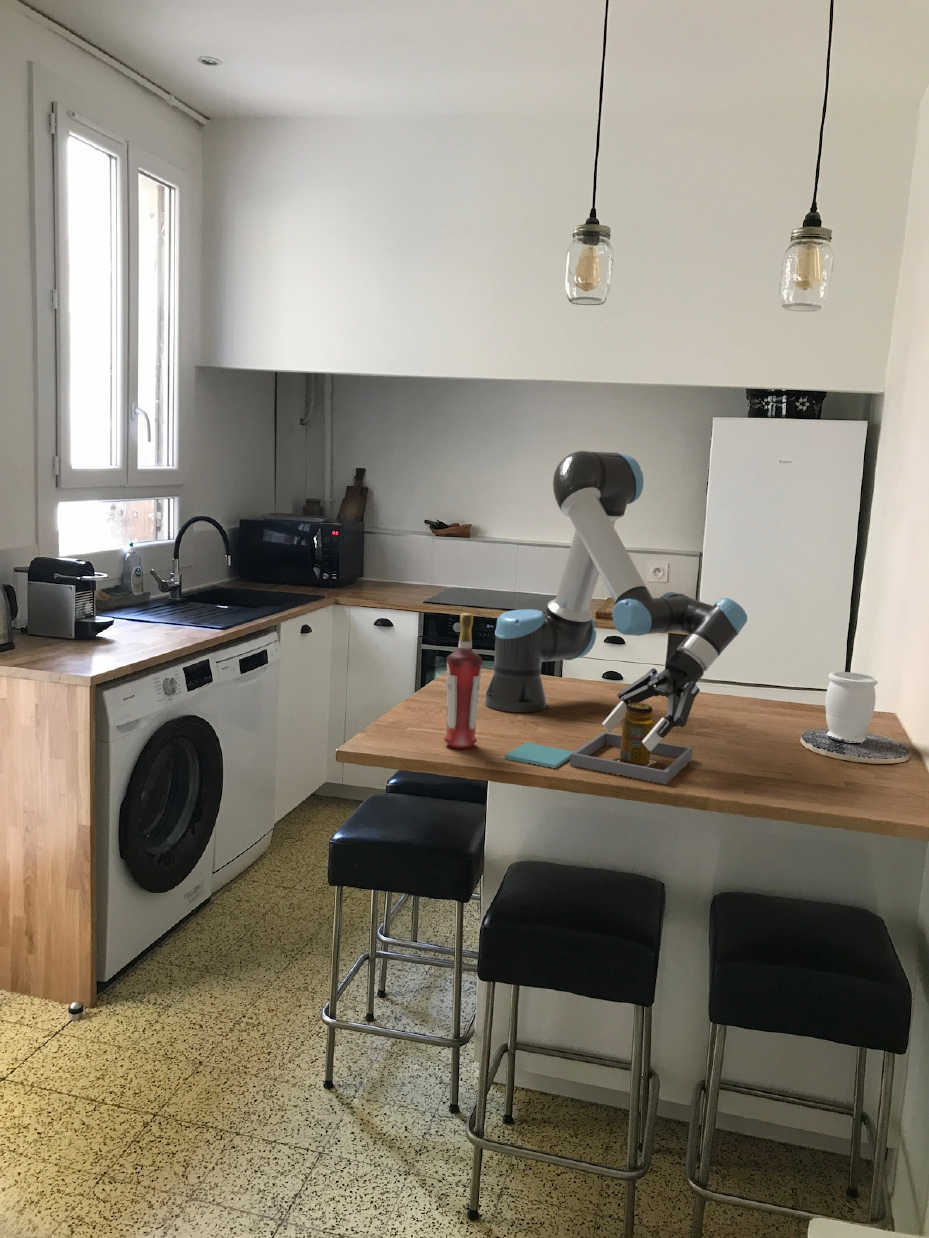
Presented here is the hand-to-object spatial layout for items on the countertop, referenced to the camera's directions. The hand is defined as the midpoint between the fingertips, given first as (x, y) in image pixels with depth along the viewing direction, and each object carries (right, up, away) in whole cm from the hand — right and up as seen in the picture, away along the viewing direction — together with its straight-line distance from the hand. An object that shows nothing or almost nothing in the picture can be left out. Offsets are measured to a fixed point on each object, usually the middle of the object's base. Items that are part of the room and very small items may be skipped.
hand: (625, 737), depth 196 cm
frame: (+2, -5, +2) cm, 6 cm away
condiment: (+2, -6, +2) cm, 6 cm away
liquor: (-34, -3, +7) cm, 34 cm away
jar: (+56, -4, +28) cm, 63 cm away
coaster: (-17, -4, +2) cm, 18 cm away
